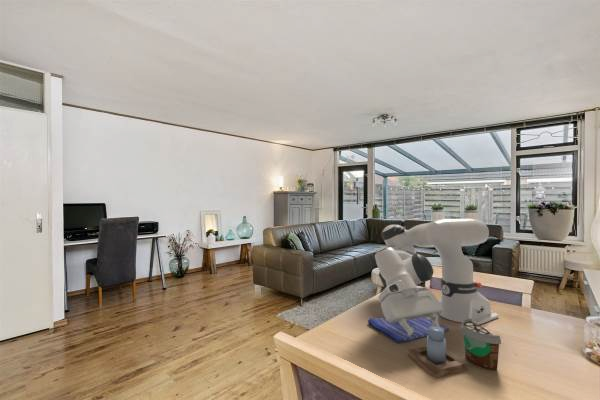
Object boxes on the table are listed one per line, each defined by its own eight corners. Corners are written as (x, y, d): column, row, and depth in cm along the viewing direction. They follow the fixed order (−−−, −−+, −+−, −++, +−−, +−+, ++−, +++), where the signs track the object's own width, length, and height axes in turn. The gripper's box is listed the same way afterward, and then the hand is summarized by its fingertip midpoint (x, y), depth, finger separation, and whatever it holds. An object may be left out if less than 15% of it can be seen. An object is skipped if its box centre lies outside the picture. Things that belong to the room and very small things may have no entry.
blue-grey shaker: (436, 354, 86) (436, 324, 86) (450, 363, 82) (450, 331, 81) (423, 357, 85) (422, 326, 85) (435, 366, 80) (435, 334, 80)
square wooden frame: (437, 349, 90) (437, 344, 90) (467, 369, 80) (467, 363, 80) (407, 356, 87) (407, 350, 87) (435, 377, 76) (435, 370, 76)
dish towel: (365, 324, 110) (365, 317, 110) (413, 314, 119) (413, 307, 119) (397, 346, 94) (397, 337, 94) (449, 332, 103) (449, 324, 103)
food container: (451, 350, 90) (451, 318, 89) (470, 349, 90) (470, 317, 90) (479, 374, 77) (479, 337, 77) (501, 373, 78) (501, 336, 78)
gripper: (423, 291, 102) (445, 331, 92) (373, 298, 95) (392, 341, 86) (433, 282, 97) (457, 322, 88) (381, 288, 91) (402, 333, 81)
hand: (425, 332), depth 87 cm, fingers open, 8 cm apart
